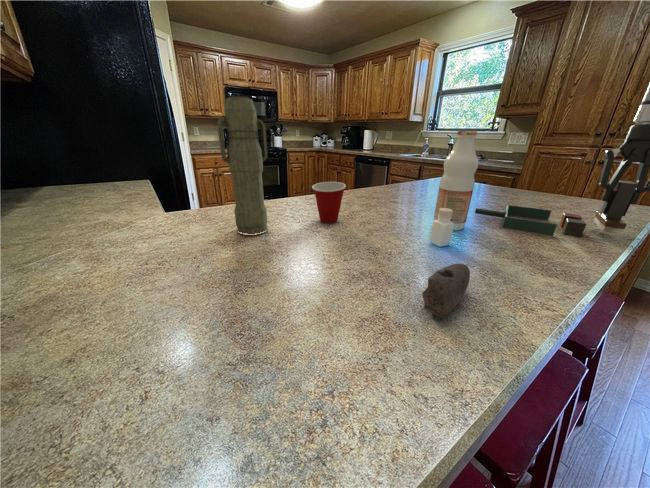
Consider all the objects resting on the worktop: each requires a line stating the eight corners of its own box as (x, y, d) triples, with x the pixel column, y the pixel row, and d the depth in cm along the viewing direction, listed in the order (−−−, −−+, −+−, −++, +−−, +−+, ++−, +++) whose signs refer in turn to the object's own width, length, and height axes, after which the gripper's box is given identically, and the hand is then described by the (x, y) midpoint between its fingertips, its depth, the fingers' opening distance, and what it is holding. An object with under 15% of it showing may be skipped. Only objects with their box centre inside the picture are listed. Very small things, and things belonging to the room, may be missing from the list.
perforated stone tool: (448, 281, 54) (455, 249, 51) (476, 291, 51) (485, 258, 48) (411, 313, 44) (417, 277, 42) (442, 329, 41) (451, 290, 38)
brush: (610, 222, 82) (630, 179, 76) (621, 234, 72) (645, 186, 67) (592, 220, 84) (610, 178, 79) (601, 231, 74) (623, 184, 69)
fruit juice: (426, 223, 87) (441, 130, 76) (447, 219, 91) (464, 130, 80) (449, 232, 80) (470, 130, 69) (471, 228, 83) (494, 131, 72)
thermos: (277, 231, 79) (269, 97, 65) (237, 239, 73) (219, 93, 59) (266, 223, 86) (256, 100, 72) (228, 230, 80) (210, 96, 66)
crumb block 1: (575, 226, 86) (579, 214, 85) (577, 230, 83) (582, 217, 82) (559, 224, 88) (563, 212, 87) (560, 227, 85) (565, 215, 84)
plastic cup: (305, 221, 88) (304, 184, 83) (326, 214, 96) (326, 180, 91) (330, 228, 82) (331, 189, 77) (351, 220, 89) (353, 184, 85)
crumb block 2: (578, 233, 81) (583, 220, 79) (581, 237, 78) (586, 224, 76) (561, 230, 83) (566, 218, 81) (563, 234, 80) (568, 221, 78)
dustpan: (547, 220, 92) (551, 210, 91) (553, 235, 78) (557, 224, 77) (477, 209, 103) (479, 200, 102) (471, 221, 89) (473, 211, 88)
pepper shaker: (438, 240, 74) (445, 206, 71) (450, 245, 71) (458, 210, 67) (428, 242, 73) (434, 208, 69) (439, 247, 69) (446, 212, 66)
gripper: (694, 124, 66) (647, 215, 75) (606, 124, 74) (573, 206, 83) (711, 123, 60) (658, 222, 70) (613, 123, 68) (577, 212, 78)
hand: (612, 213), depth 76 cm, fingers closed on brush, 3 cm apart
